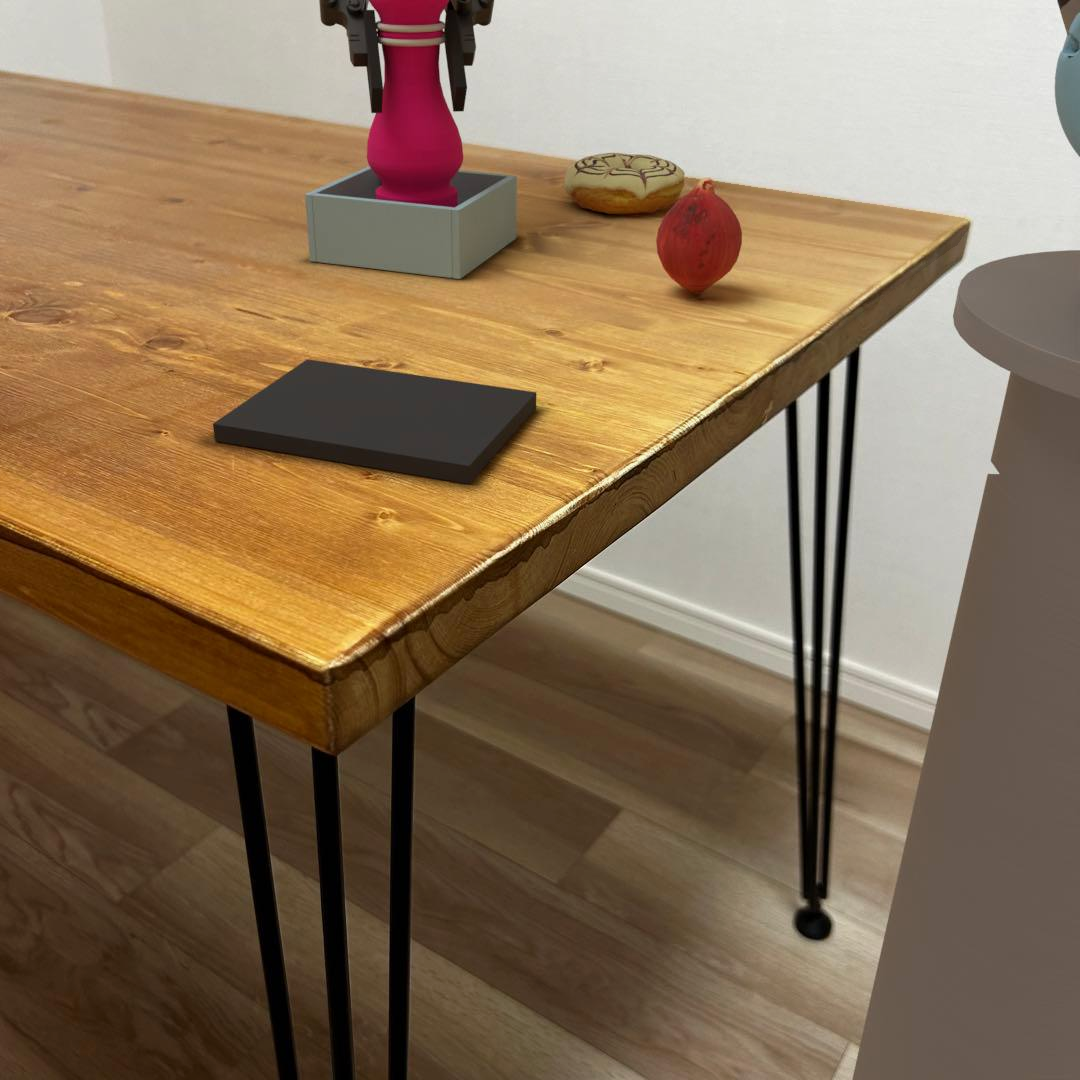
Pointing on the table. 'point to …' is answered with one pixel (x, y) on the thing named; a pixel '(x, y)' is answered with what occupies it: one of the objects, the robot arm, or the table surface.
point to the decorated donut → (624, 183)
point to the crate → (411, 225)
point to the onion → (699, 239)
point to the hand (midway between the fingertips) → (418, 99)
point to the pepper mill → (413, 108)
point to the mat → (380, 420)
